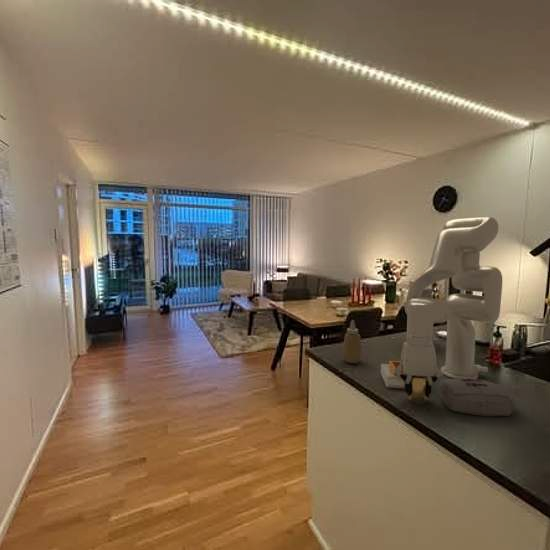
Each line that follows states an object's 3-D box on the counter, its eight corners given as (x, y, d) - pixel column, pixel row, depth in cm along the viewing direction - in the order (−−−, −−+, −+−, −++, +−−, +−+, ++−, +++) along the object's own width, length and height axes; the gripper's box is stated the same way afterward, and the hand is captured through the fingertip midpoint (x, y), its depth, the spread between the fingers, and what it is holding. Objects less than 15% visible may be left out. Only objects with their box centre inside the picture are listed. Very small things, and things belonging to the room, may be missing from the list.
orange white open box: (418, 375, 119) (419, 360, 119) (428, 389, 107) (429, 373, 107) (380, 373, 121) (381, 358, 121) (386, 387, 110) (387, 370, 109)
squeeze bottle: (362, 365, 130) (363, 323, 128) (342, 364, 132) (343, 322, 130) (361, 358, 138) (361, 319, 136) (342, 357, 140) (343, 318, 138)
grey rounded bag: (452, 417, 90) (527, 422, 87) (453, 390, 90) (529, 394, 87) (433, 393, 105) (497, 397, 102) (434, 369, 105) (499, 373, 102)
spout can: (427, 404, 98) (428, 377, 97) (411, 403, 98) (412, 376, 98) (421, 394, 104) (422, 369, 103) (406, 393, 105) (406, 368, 104)
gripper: (443, 337, 101) (441, 391, 103) (389, 335, 104) (387, 387, 105) (452, 344, 94) (450, 402, 95) (394, 342, 96) (392, 398, 98)
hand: (417, 394), depth 100 cm, fingers closed on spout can, 5 cm apart
